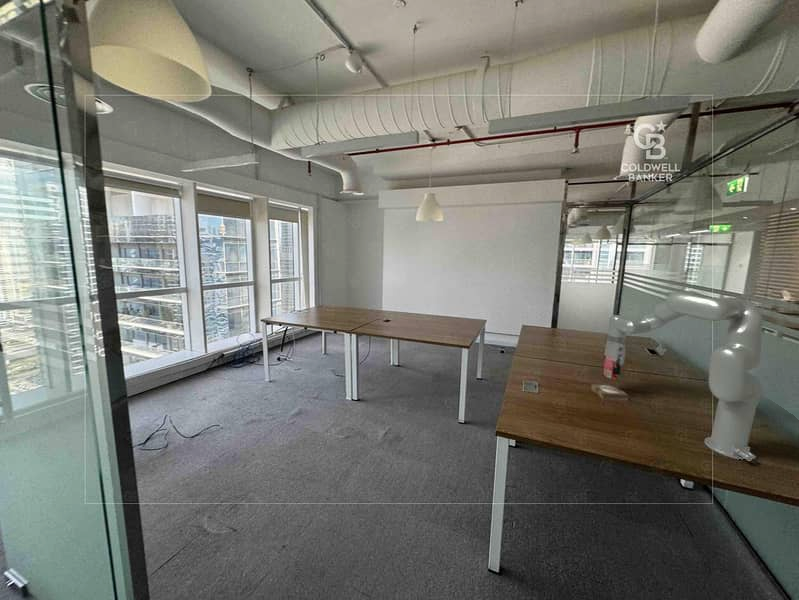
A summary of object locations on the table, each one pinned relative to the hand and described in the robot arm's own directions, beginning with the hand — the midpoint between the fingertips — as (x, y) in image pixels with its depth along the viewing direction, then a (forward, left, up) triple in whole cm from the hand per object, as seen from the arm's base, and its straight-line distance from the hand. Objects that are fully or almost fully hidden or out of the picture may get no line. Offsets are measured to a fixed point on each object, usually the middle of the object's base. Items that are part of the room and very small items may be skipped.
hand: (611, 371), depth 160 cm
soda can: (0, 0, -3) cm, 3 cm away
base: (0, 0, -13) cm, 13 cm away
